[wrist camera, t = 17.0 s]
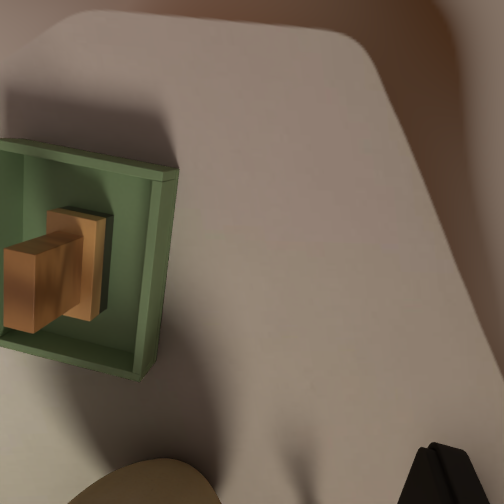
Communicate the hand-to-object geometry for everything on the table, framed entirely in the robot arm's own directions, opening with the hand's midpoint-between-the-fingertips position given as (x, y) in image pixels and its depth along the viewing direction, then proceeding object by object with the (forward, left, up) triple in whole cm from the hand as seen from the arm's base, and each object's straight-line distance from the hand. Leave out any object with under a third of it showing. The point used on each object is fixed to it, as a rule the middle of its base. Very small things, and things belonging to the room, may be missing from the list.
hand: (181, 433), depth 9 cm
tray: (+7, -17, -27) cm, 33 cm away
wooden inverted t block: (+7, -17, -26) cm, 32 cm away
